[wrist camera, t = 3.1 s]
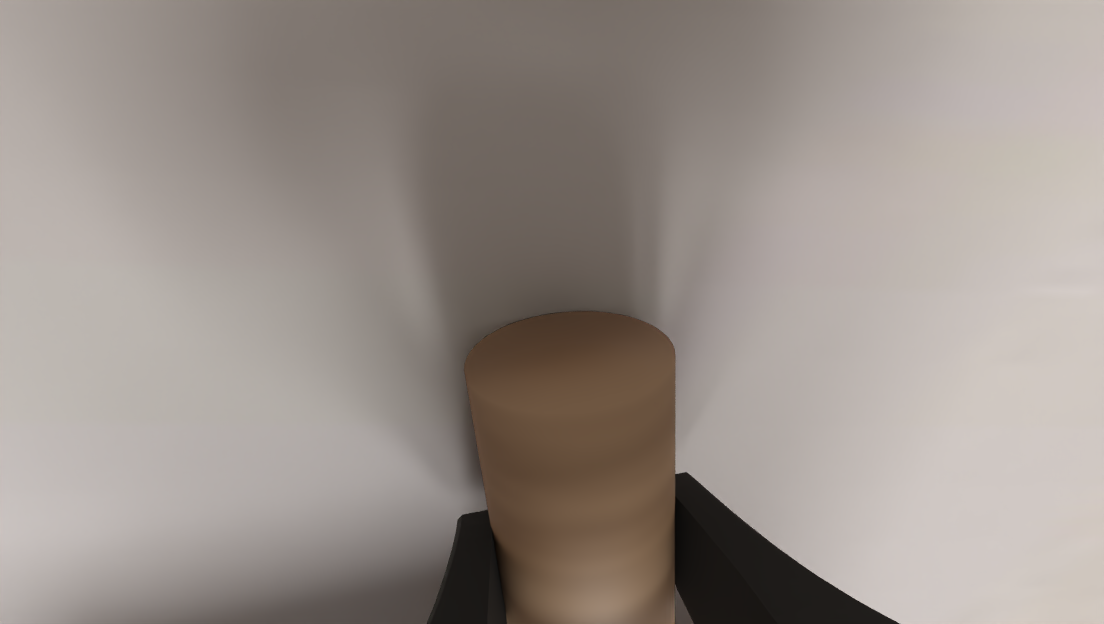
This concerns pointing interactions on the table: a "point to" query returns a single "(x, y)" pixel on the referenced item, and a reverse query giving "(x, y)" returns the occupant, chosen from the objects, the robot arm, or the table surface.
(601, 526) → the roller
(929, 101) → the table surface
